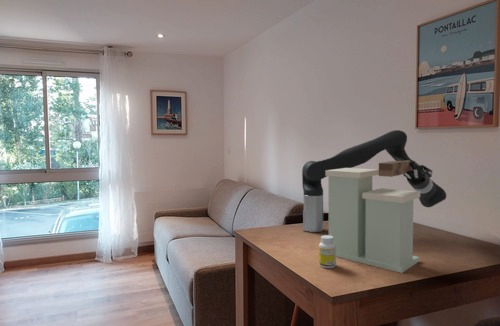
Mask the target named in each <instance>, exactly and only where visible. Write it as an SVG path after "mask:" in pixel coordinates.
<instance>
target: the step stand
mask: <svg viewBox="0 0 500 326" xmlns="http://www.w3.org/2000/svg"><path fill="white" fill-rule="evenodd" d="M325 176H327V177H328V235H330V236H333V243H334V244H335V245H336V258H340V259H345V260H348V261H353V262H355V263H360V264H364V265H368V266H373V267H377V268H379V269H380V268H381V269H385V270H388V271H391V272H396V273H401V274H403V273H404V272H406V271H407V270H408V269H410V268H412V267H413V266H414V265H416V264H417V263H419V262H420V256H416V255H414V253H413V249H414V200H416V199H419V197H420V191H416V190H408V189H407V190H406V189H396V188H387V187H386V188H383V187H381V188H377V189H373V177H374V176H379V168H377V169H376V168H375V169H374V168H358V167H356V168H355V167H352V168H341V169H333V170H326V171H325Z"/></svg>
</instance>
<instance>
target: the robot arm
mask: <svg viewBox="0 0 500 326" xmlns="http://www.w3.org/2000/svg"><path fill="white" fill-rule="evenodd" d="M407 140H408V135H407V134H406V132H405V131H402V130H398V129H397V130H391V131H388V132H387V133H384V134H382V135H380V136H378V137H376V138H374V139H371V140H368V141H365V142H363V143H360V144H357V145H354V146H352V147H348V148H346V149H344V150H341V152H338V153H337V154H335V155H333V156H331V157H329V158H326V159H322V160H318V161H315V160H310V161H307V162H305V163H304V165H303V167H302V172H301V176H302V177H301V180H302V182H301V183H302V190H303V210H302V218H303V219H302V220H303V221H302V229H303V230H304V231H303V230H302V231H303V232H308V231H309V233H320V232H323V231H324V188H323V186H322V185H323V184H322V180H323V179H324V178H326V177H328V176H325V171H326V170H333V169H341V168H355V167H357V166H358V167H359V165H360V166H361V165H363V164H365V163H367V162H369V161H371V159H373V158H374V157H376V155H377V156H378V154H380V153H381V152H383V151H386V153H388V155H390V157H392V159H393V161H410V166H411V168H412V169H414V170H412V171H407V172H406V174H402V175H403V177H405V178H406V180H407V183H408V184H409V186H411V187H412V189H414V191H420V197H419V198H418V200H419V202H420V204H421V205H422V206H423V207H425V208H432V207H434V206H436V205H438V204H439V203H441V202H443V201H445V200H446V199H447V193H446V191H445V190H444V189H443V188H442V187H441V186H439V185H438V184H437V183H436V182H435V181H433V180H432V176H433V170H432V169H430V168H429V167H427V166H426V165H423V164H419V163H417V162H416V161H415V160H413V159H411V158H410V157H409V155H408V154H407V152H406V149H405V148H406V144H407V142H408V141H407ZM414 161H415V162H414ZM397 176H400V175H397Z"/></svg>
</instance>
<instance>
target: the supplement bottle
mask: <svg viewBox="0 0 500 326" xmlns="http://www.w3.org/2000/svg"><path fill="white" fill-rule="evenodd" d="M318 252H319V253H318V258H319V259H318V261H319V262H318V264H319V267H321V268H325V269H333V268H335V267H336V266H337V264H336V263H337V259H336V258H337V257H336V245H335V244H334V243H333V236H330V235H329V234H327V235H326V234H325V235H321V236H320V242H319V245H318Z"/></svg>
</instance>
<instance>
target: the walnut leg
mask: <svg viewBox="0 0 500 326" xmlns="http://www.w3.org/2000/svg"><path fill="white" fill-rule="evenodd" d="M413 161H414V162H416V160H413ZM378 169H379V175H378V176H379V177H389V178H390V177H391V178H393V177H397V176H398V175H399V176H401V175H403V174H406V172H407V171H412V170H414V169H412V168H411V166H410V161H395V160H391V161H386V162H385V161H384V162H383V161H382V162H379V163H378Z"/></svg>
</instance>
